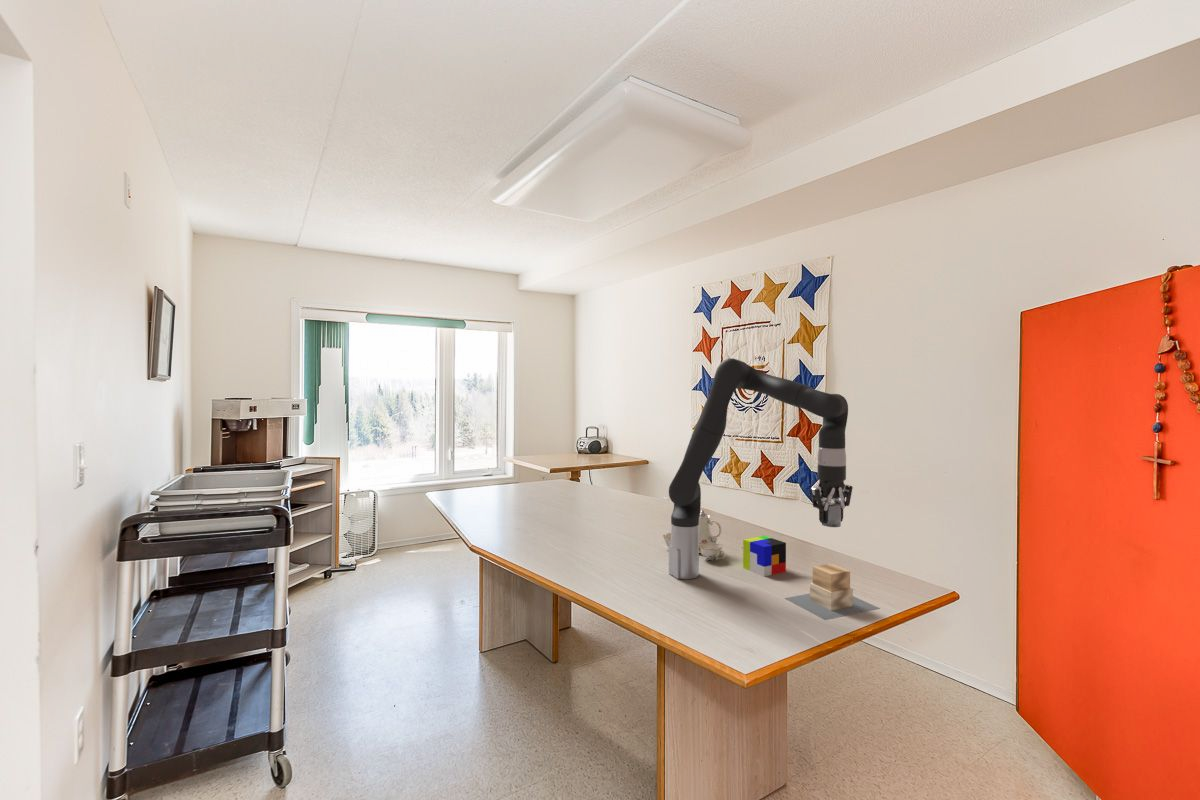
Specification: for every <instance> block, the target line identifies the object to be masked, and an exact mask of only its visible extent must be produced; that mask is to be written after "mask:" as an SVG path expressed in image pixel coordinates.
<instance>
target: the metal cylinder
mask: <svg viewBox="0 0 1200 800" xmlns="http://www.w3.org/2000/svg"><path fill="white" fill-rule="evenodd" d="M824 503H825V502H824ZM824 503H823V506H824ZM827 511H828V523H826V524H824V523H821V525H822V527H823V526H824V527H828V528H840V527H841V526H842V524H841V523H842V522H841V505H840V504H838V503H834V502H831V503H829V505H828V509H827Z"/></svg>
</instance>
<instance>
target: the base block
mask: <svg viewBox="0 0 1200 800" xmlns="http://www.w3.org/2000/svg"><path fill="white" fill-rule="evenodd" d="M853 591H854V589H853V588H852V587H850V589H845V590H839V591H834V592H830V591H828V590H826V589H823V588H821V587H819V586H817V585H815V584H813V582H810V583H809V594H810V600H811V601H813V602H815V603H817V604H819V605H821V606H823V607H825V608H827V609H829V610H831V611H832V610H837V609H842V608H846V607H851V606H853V596H854V594H853V593H854V592H853Z"/></svg>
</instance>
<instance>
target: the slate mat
mask: <svg viewBox="0 0 1200 800" xmlns="http://www.w3.org/2000/svg"><path fill="white" fill-rule="evenodd" d="M784 599H785V600H787V601H789V602H790V603H792V604H794V605H795V606H798V607H800V608H802V609H803V610H805V611H807V612H809V613H811V614H813V615H815V616H817V617H818V618H821V619H822V620H825V621H828V620H832V619H837V618H841V617H848V616H851V615H855V614H861V613H865V612H870V611H876V610H880V609H881V607H878V606H876V605H873V604H871V603H869V602H867V601H865V600H863V599H861V598H858V597H855V596H854V595H853V606H851V607H846V608H842V609H837V610H832V611H831V610H829V609H827V608H825V607H823V606H821V605H819V604H817V603H815V602H813V601H811V600H810V593H806V594H800V595H793V596H789V597H784Z"/></svg>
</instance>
